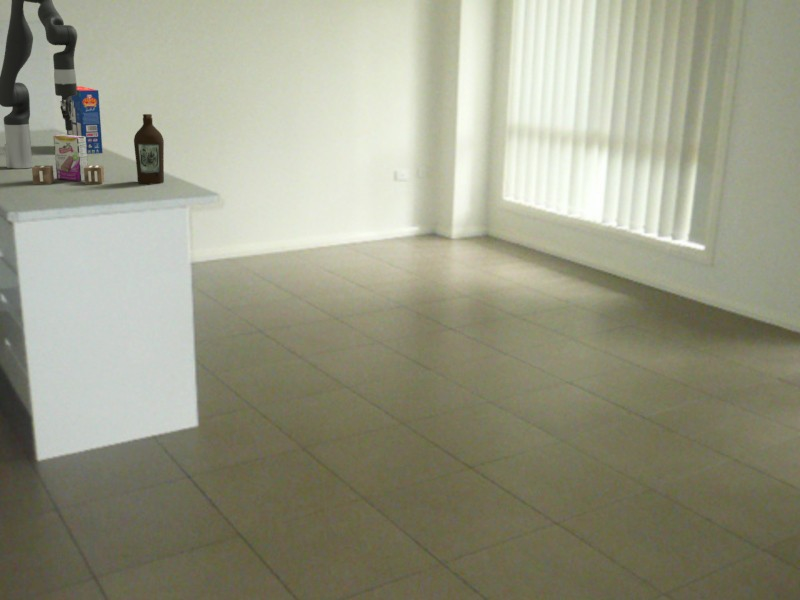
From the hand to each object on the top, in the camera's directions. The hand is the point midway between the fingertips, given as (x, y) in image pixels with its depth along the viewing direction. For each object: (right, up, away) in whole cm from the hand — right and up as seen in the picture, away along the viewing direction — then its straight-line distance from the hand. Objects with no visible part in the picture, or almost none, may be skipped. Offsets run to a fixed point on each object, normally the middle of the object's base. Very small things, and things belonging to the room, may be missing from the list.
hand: (69, 130), depth 338 cm
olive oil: (+29, -19, +4) cm, 35 cm away
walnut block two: (+9, -20, 0) cm, 22 cm away
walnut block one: (-8, -20, -3) cm, 22 cm away
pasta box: (-24, +7, +87) cm, 91 cm away
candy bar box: (-1, -18, +5) cm, 19 cm away
